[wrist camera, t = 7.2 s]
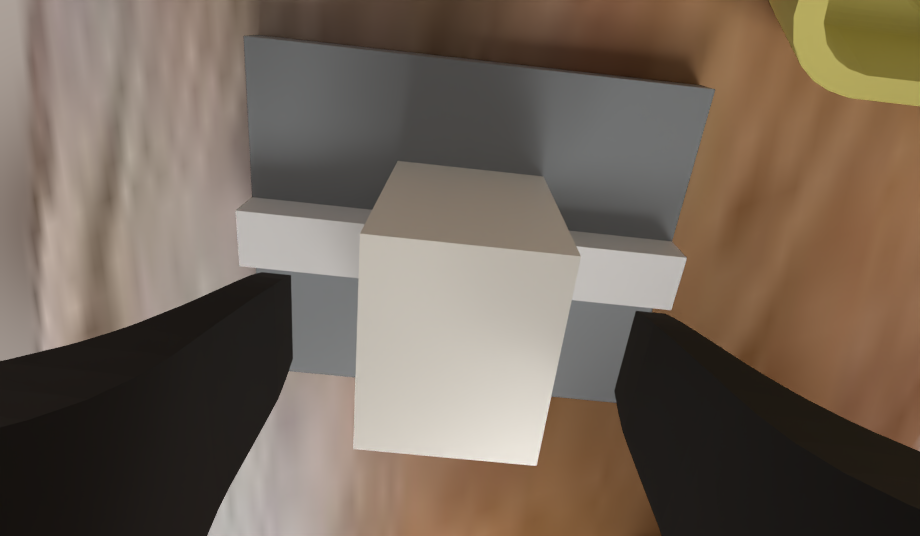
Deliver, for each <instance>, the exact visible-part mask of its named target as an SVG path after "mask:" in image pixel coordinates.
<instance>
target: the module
mask: <svg viewBox="0 0 920 536" xmlns="http://www.w3.org/2000/svg"><path fill="white" fill-rule="evenodd" d="M580 259H581V255H580V253H579V251H578V249H577V247H576V245H575V243H574V240H573V238H572V236H571V234H570V232H569V230H568V228H567V226H566V224H565V221H564V219H563V217H562V215H561V213H560V211H559V209H558V207H557V204H556V202H555V200H554V198H553V196H552V194H551V192H550V190H549V187H548V185H547V183H546V181H545V179H544V177H543V176H535V175H525V174H516V173H507V172H497V171H488V170H479V169H469V168H460V167H451V166H441V165H432V164H423V163H413V162H404V161H397V163H396V165H395V167H394V169H393V171H392V173H391V175H390V177H389V179H388V181H387V182H386V184H385V186H384V188H383V190H382V192H381V194H380V196H379V198H378V200H377V202H376V204H375V206H374V207H373V209H372V211H371V213H370V215H369V217H368V219H367V221H366V223H365V225H364V227H363V229H362V230H361V232H360V245H359V278H358V311H357V344H356V377H355V410H354V442H353V449H359V450H370V451H381V452H392V453H403V454H413V455H424V456H435V457H446V458H457V459H467V460H478V461H489V462H500V463H511V464H521V465H532V466H537V461H538V456H539V452H540V447H541V442H542V437H543V433H544V428H545V423H546V419H547V414H548V409H549V405H550V400H551V395H552V391H553V386H554V381H555V376H556V372H557V367H558V362H559V358H560V353H561V348H562V344H563V339H564V334H565V329H566V325H567V320H568V315H569V311H570V306H571V301H572V297H573V292H574V287H575V282H576V278H577V273H578V268H579V264H580Z"/></svg>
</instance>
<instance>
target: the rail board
mask: <svg viewBox="0 0 920 536" xmlns="http://www.w3.org/2000/svg"><path fill="white" fill-rule="evenodd" d="M244 52H245V71H246V90H247V108H248V127H249V146H250V164H251V183H252V198H251V199H249V200H248V201H247V202H246V203H244V204H243V205H242V206H241V207H239V208H238V209H237V210H236V225H237V240H238V254H239V266H243V267H253V268H256V274H257V273H260V272H265V273H275V274H285V275H291V296H292V339H293V360H292V363H291V366H290V369H289V371H294V372H304V373H315V374H325V375H335V376H346V377H356V344H357V311H358V278H359V245H360V232H361V230H362V229H363V227H364V225H365V223H366V221H367V219H368V217H369V215H370V213H371V211H372V209H373V207H374V206H375V204H376V202H377V200H378V198H379V196H380V194H381V192H382V190H383V188H384V186H385V184H386V182H387V181H388V179H389V177H390V175H391V173H392V171H393V169H394V167H395V165H396V163H397V161H404V162H413V163H423V164H432V165H441V166H451V167H460V168H469V169H479V170H488V171H497V172H507V173H516V174H525V175H535V176H543V177H544V179H545V181H546V183H547V185H548V187H549V190H550V192H551V194H552V196H553V198H554V200H555V202H556V204H557V207H558V209H559V211H560V213H561V215H562V217H563V219H564V221H565V224H566V226H567V228H568V230H569V232H570V234H571V236H572V238H573V240H574V243H575V245H576V247H577V249H578V251H579V253H580V255H581V259H580V264H579V268H578V273H577V278H576V282H575V287H574V292H573V297H572V301H571V306H570V311H569V315H568V320H567V325H566V329H565V334H564V339H563V344H562V348H561V353H560V358H559V362H558V367H557V372H556V376H555V381H554V386H553V391H552V395H551V396H552V397H562V398H572V399H583V400H593V401H603V402H614V403H616V398H615V393H614V390H615V386H616V382H617V379H618V375H619V371H620V368H621V364H622V360H623V356H624V353H625V349H626V345H627V342H628V338H629V334H630V330H631V327H632V323H633V319H634V316H635V312H636V311H643V312H652V309H653V308H654V309H664V310H671V309H672V306H673V303H674V299H675V296H676V293H677V289H678V286H679V283H680V279H681V276H682V273H683V269H684V266H685V263H686V260H687V257H686V256H685V255H684V254H683V253H682V252H681V251H680V250H679V249H678V248H677V246H676V245H675V244H674V243H673V242H672V239H673V236H674V232H675V229H676V225H677V222H678V218H679V215H680V211H681V208H682V204H683V201H684V197H685V194H686V190H687V187H688V183H689V180H690V176H691V173H692V169H693V166H694V162H695V159H696V155H697V152H698V148H699V145H700V141H701V138H702V134H703V131H704V127H705V124H706V120H707V117H708V113H709V110H710V106H711V103H712V99H713V96H714V92H715V89H712V88H708V87H705V86H701V85H694V84H685V83H676V82H667V81H658V80H650V79H641V78H632V77H623V76H614V75H606V74H597V73H588V72H579V71H570V70H562V69H553V68H544V67H535V66H527V65H518V64H509V63H500V62H491V61H483V60H474V59H465V58H456V57H447V56H439V55H430V54H421V53H412V52H403V51H395V50H386V49H377V48H368V47H360V46H351V45H342V44H333V43H324V42H316V41H307V40H298V39H289V38H280V37H272V36H263V35H249V36H244Z"/></svg>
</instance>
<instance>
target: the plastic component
mask: <svg viewBox="0 0 920 536" xmlns="http://www.w3.org/2000/svg"><path fill="white" fill-rule="evenodd" d="M769 3H770V5H771V7H772V9H773V11H774V14H775V16H776V18H777V20H778V22H779V24H780V26H781V28H782V30H783V31H784V33H785V35H786V37H787V39H788V41H789V43H790V45H791V47H792V49H793V51H794V53H795V55H796V57H797V59H798V61H799V63H800V65H801V66H802V68H803V69H804V70H805V71H806V72H807V74H808V75H809V76H810V77H811V78H812V80H813V81H814V82H816V83H817V84H819V85H820V86H822V87H823V88H825V89H826V90H828V91H831V92H834V93H837V94H839V95H842V96H845V97H848V98H853V99H862V100H870V101H879V102H887V103H896V104H904V105H913V106H920V0H769Z"/></svg>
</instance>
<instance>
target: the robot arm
mask: <svg viewBox="0 0 920 536" xmlns="http://www.w3.org/2000/svg"><path fill="white" fill-rule="evenodd" d="M292 360H293V339H292V296H291V275H285V274H275V273H265V272H260V273H257V274H253V275H251V276H248V277H246V278H243V279H241V280H238V281H236V282H234V283H232V284H229V285H227V286H225V287H223V288H220V289H218V290H216V291H214V292H211V293H209V294H207V295H205V296H202V297H200V298H198V299H196V300H193V301H191V302H189V303H187V304H184V305H182V306H179V307H177V308H174V309H172V310H169V311H167V312H164V313H162V314H159V315H157V316H154V317H152V318H149V319H147V320H144V321H142V322H139V323H137V324H134V325H131V326H128V327H125V328H122V329H119V330H117V331H114V332H111V333H107V334H104V335H101V336H98V337H94V338H91V339H88V340H84V341H81V342H78V343H74V344H70V345H67V346H63V347H58V348H54V349H50V350H46V351H42V352H38V353H33V354H29V355H25V356H21V357H17V358H13V359H9V360H4V361H0V536H207V535H208V532H209V530H210V528H211V525H212V523H213V520H214V518H215V516H216V513H217V511H218V509H219V507H220V505H221V503H222V501H223V499H224V497H225V495H226V493H227V491H228V489H229V487H230V485H231V483H232V481H233V480H234V478H235V476H236V474H237V472H238V471H239V469H240V467H241V465H242V463H243V462H244V460H245V458H246V456H247V455H248V453H249V451H250V449H251V447H252V446H253V444H254V442H255V440H256V438H257V437H258V435H259V433H260V431H261V429H262V428H263V426H264V424H265V422H266V420H267V418H268V417H269V415H270V413H271V411H272V409H273V407H274V405H275V404H276V402H277V400H278V398H279V395H280V393H281V390H282V388H283V385H284V382H285V380H286V377H287V374H288V371H289V369H290V366H291V363H292ZM614 393H615V398H616V403H617V408H618V413H619V417H620V421H621V426H622V430H623V433H624V436H625V439H626V442H627V445H628V447H629V450H630V453H631V455H632V458H633V461H634V463H635V466H636V469H637V471H638V474H639V477H640V479H641V482H642V484H643V487H644V490H645V492H646V495H647V497H648V500H649V503H650V505H651V508H652V510H653V513H654V516H655V518H656V521H657V523H658V526H659V529H660V532H661V535H662V536H920V451H917V450H915V449H912V448H910V447H908V446H905V445H903V444H901V443H898V442H896V441H893V440H891V439H889V438H886V437H884V436H882V435H879V434H877V433H875V432H872V431H870V430H868V429H866V428H864V427H861V426H859V425H857V424H855V423H853V422H851V421H848V420H846V419H844V418H842V417H840V416H838V415H836V414H835V413H833V412H831V411H829V410H827V409H825V408H823V407H821V406H819V405H817V404H815V403H813V402H811V401H809V400H807V399H805V398H803V397H801V396H800V395H798V394H796V393H794V392H792V391H791V390H789V389H787V388H785V387H784V386H782V385H780V384H779V383H777V382H775V381H773V380H772V379H770V378H768V377H767V376H765V375H763V374H762V373H760V372H758V371H757V370H755V369H754V368H752V367H750V366H749V365H747V364H745V363H744V362H742V361H741V360H739V359H738V358H736V357H735V356H733V355H731V354H730V353H728V352H727V351H725V350H724V349H722V348H721V347H719V346H718V345H716V344H715V343H713V342H711V341H710V340H708V339H707V338H705V337H704V336H702V335H701V334H699V333H698V332H696V331H695V330H693V329H691V328H690V327H688V326H687V325H685V324H683V323H682V322H680V321H678V320H676V319H675V318H673V317H671V316H669V315H666V314H662V313H653V312H643V311H636V312H635V316H634V319H633V323H632V327H631V330H630V334H629V338H628V342H627V345H626V349H625V353H624V356H623V360H622V364H621V368H620V371H619V375H618V379H617V382H616V386H615V390H614Z"/></svg>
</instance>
